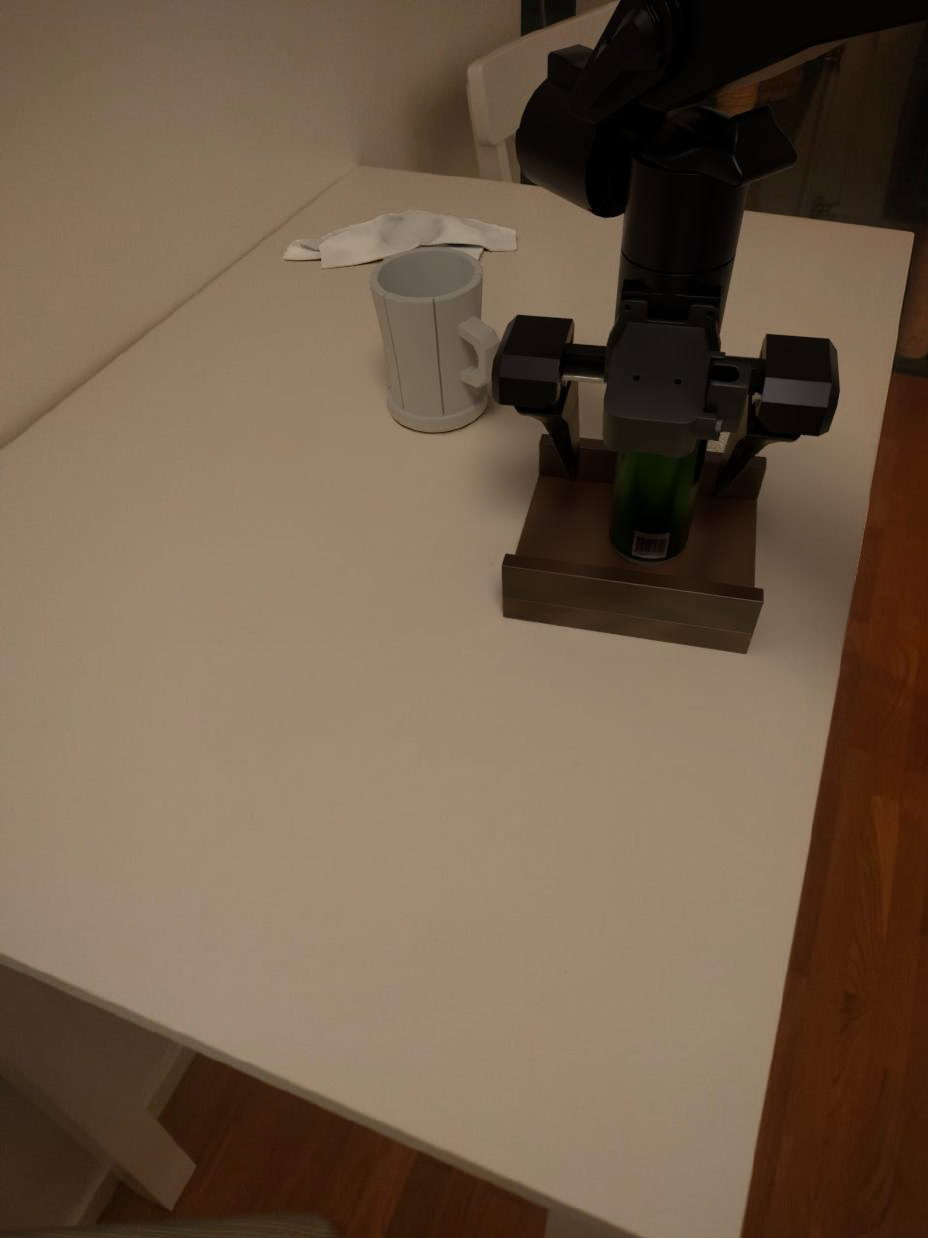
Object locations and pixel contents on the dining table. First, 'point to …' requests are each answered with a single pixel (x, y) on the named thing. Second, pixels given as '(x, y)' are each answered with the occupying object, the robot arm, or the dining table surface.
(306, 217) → the dining table surface
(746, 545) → the rack
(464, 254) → the cup
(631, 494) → the beer can
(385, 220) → the cloth
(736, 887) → the dining table surface
